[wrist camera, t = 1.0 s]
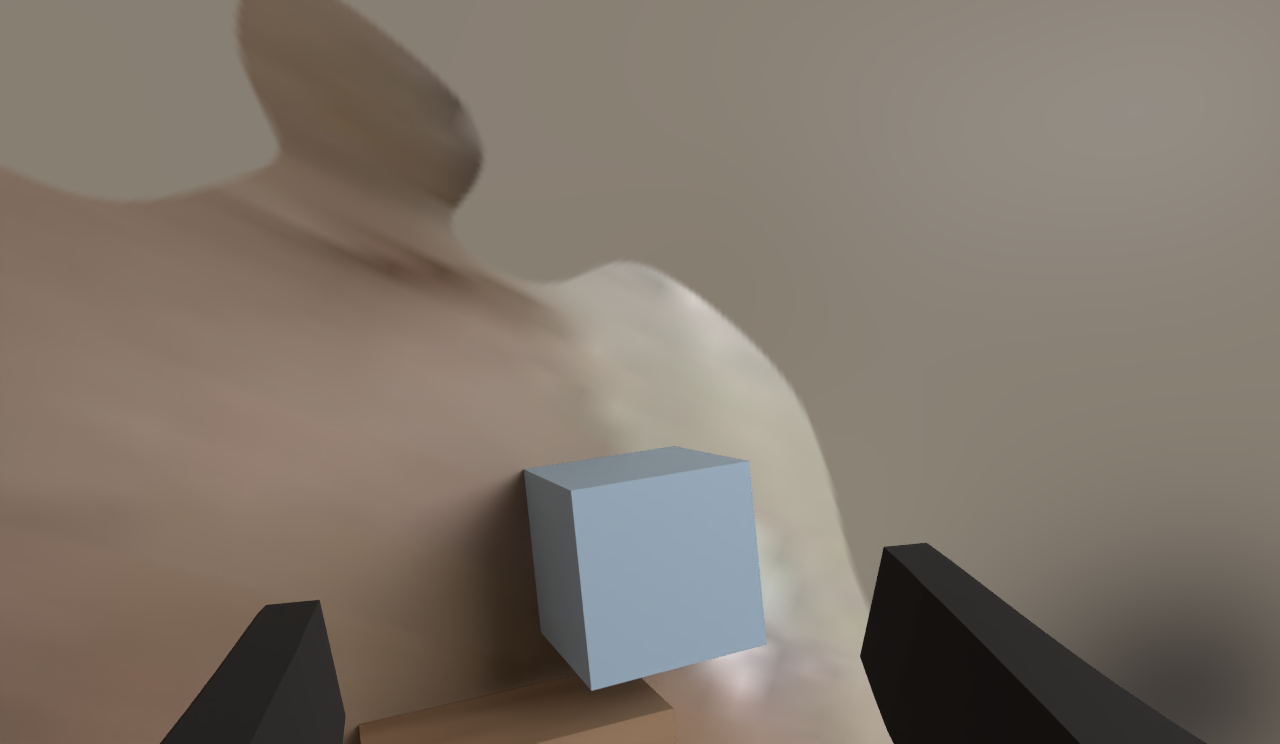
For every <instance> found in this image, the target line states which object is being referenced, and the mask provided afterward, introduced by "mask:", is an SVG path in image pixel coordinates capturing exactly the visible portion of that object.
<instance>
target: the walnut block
mask: <svg viewBox="0 0 1280 744" xmlns="http://www.w3.org/2000/svg"><path fill="white" fill-rule="evenodd" d="M359 732H360V744H676V735H675V722H674V709H673V707H672V706H671V705H669V704H668V703H667V702H666V701H665V700H664V699H663V698H662V697H661V696H660V695H659V694H658V693H657V692H656V691H654V690H653V689H652V688H651V687H650V686H649V685H648V684H647V683H646V682H645V681H644V680H643V679H642V678H638V679H634V680H631V681H627V682H623V683H619V684H616V685H612V686H608V687H604V688H600V689H597V690H593V691H591V690H590V688H589V687H588V686H587V685H586V684H585V683H584V681H583V680H582V679H581V678H580V677H579V676H578V675H573V676H569V677H564V678H560V679H555V680H551V681H547V682H542V683H538V684H534V685H529V686H525V687H520V688H516V689H512V690H507V691H503V692H499V693H494V694H490V695H485V696H481V697H477V698H472V699H468V700H464V701H459V702H455V703H451V704H446V705H442V706H437V707H433V708H429V709H424V710H420V711H416V712H411V713H407V714H402V715H398V716H394V717H389V718H385V719H381V720H376V721H372V722H367V723H363V724H359Z"/></svg>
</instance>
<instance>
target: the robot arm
mask: <svg viewBox="0 0 1280 744" xmlns="http://www.w3.org/2000/svg"><path fill="white" fill-rule="evenodd" d="M860 657H861V660H862V663H863V666H864V669H865V672H866V674H867V677H868V680H869V683H870V686H871V689H872V692H873V694H874V697H875V700H876V702H877V705H878V708H879V710H880V713H881V715H882V718H883V721H884V723H885V726H886V728H887V731H888V733H889V735H890V737H891V739H892V741H893V743H894V744H1207V743H1205V742H1203V741H1202V740H1200V739H1199V738H1197V737H1195V736H1194V735H1192V734H1190V733H1189V732H1188V731H1186V730H1184V729H1183V728H1181V727H1180V726H1178V725H1177V724H1175V723H1174V722H1172V721H1170V720H1169V719H1167V718H1166V717H1165V716H1163V715H1162V714H1160V713H1158V712H1157V711H1156V710H1154V709H1153V708H1151V707H1150V706H1148V705H1147V704H1145V703H1144V702H1142V701H1141V700H1139V699H1138V698H1136V697H1135V696H1133V695H1132V694H1130V693H1129V692H1127V691H1126V690H1124V689H1123V688H1122V687H1120V686H1119V685H1117V684H1116V683H1114V682H1113V681H1111V680H1110V679H1108V678H1107V677H1106V676H1104V675H1103V674H1102V673H1100V672H1099V671H1097V670H1096V669H1094V668H1093V667H1092V666H1090V665H1089V664H1087V663H1086V662H1085V661H1083V660H1082V659H1081V658H1079V657H1078V656H1076V655H1075V654H1074V653H1072V652H1071V651H1070V650H1068V649H1067V648H1065V647H1064V646H1063V645H1061V644H1060V643H1058V642H1057V641H1056V640H1055V639H1053V638H1052V637H1051V636H1049V635H1048V634H1046V633H1045V632H1044V631H1043V630H1041V629H1040V628H1039V627H1037V626H1036V625H1035V624H1033V623H1032V622H1031V621H1029V620H1028V619H1027V618H1025V617H1024V616H1023V615H1021V614H1020V613H1018V612H1017V611H1016V610H1015V609H1013V608H1012V607H1011V606H1010V605H1008V604H1007V603H1006V602H1004V601H1003V600H1002V599H1000V598H999V597H998V596H997V595H995V594H994V593H993V592H991V591H990V590H989V589H987V588H986V587H985V586H983V585H982V584H981V583H980V582H978V581H977V580H976V579H974V578H973V577H972V576H970V575H969V574H968V573H967V572H965V571H964V570H963V569H961V568H960V567H959V566H957V565H956V564H955V563H953V562H952V561H951V560H949V559H948V558H947V557H945V556H944V555H942V554H941V553H940V552H938V551H937V550H936V549H934V548H933V547H932V546H930V545H929V544H927V543H920V544H911V545H899V546H888V547H884V548H883V553H882V558H881V563H880V567H879V572H878V576H877V581H876V585H875V590H874V595H873V600H872V604H871V609H870V613H869V618H868V622H867V627H866V632H865V636H864V641H863V646H862V650H861V655H860ZM344 725H345V712H344V707H343V703H342V698H341V694H340V689H339V685H338V680H337V676H336V671H335V667H334V662H333V658H332V654H331V649H330V645H329V640H328V636H327V631H326V627H325V622H324V618H323V613H322V609H321V604H320V600H314V601H304V602H293V603H282V604H272V605H266V606H265V607H264V608H263V609H262V610H261V611H260V612H259V613H258V614H257V615H256V617H255V618H254V619H253V621H252V622H251V623H250V625H249V626H248V628H247V629H246V630H245V632H244V633H243V635H242V636H241V637H240V639H239V640H238V641H237V643H236V644H235V646H234V647H233V648H232V650H231V651H230V652H229V654H228V655H227V657H226V658H225V659H224V661H223V662H222V663H221V665H220V666H219V667H218V669H217V670H216V672H215V673H214V674H213V676H212V677H211V678H210V680H209V681H208V682H207V684H206V685H205V686H204V688H203V689H202V690H201V692H200V693H199V694H198V696H197V697H196V698H195V699H194V701H193V702H192V703H191V705H190V706H189V707H188V709H187V710H186V711H185V713H184V714H183V715H182V716H181V718H180V719H179V720H178V721H177V723H176V724H175V725H174V727H173V728H172V729H171V730H170V732H169V733H168V734H167V735H166V737H165V738H164V739H163V740H162V742H161V743H160V744H342V743H343V734H344Z"/></svg>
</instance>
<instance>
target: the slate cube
mask: <svg viewBox="0 0 1280 744" xmlns="http://www.w3.org/2000/svg"><path fill="white" fill-rule="evenodd" d="M524 477H525V486H526V496H527V505H528V515H529V524H530V534H531V544H532V553H533V563H534V572H535V582H536V591H537V601H538V610H539V620H540V629H541V633H542V634H543V635H544V636H545V638H546V639H547V640H548V641H549V642H550V643H551V644H552V646H553V647H554V648H555V649H556V650H557V651H558V653H559V654H560V655H561V656H562V657H563V658H564V660H565V661H566V662H567V663H568V664H569V665H570V666H571V668H572V669H573V670H574V671H575V672H576V673H577V675H578V676H579V677H580V678H581V679H582V680H583V681H584V683H585V684H586V685H587V686H588V687H589V688H590V690H591V691H593V690H597V689H600V688H604V687H608V686H612V685H616V684H619V683H623V682H627V681H631V680H634V679H638V678H642V677H646V676H649V675H653V674H657V673H661V672H665V671H668V670H672V669H676V668H680V667H683V666H687V665H691V664H695V663H698V662H702V661H706V660H710V659H713V658H717V657H721V656H725V655H729V654H732V653H736V652H740V651H744V650H747V649H751V648H755V647H759V646H762V645H766V644H767V643H766V633H765V622H764V612H763V601H762V591H761V580H760V570H759V559H758V549H757V538H756V528H755V517H754V507H753V497H752V486H751V476H750V465H749V461H746V460H741V459H736V458H731V457H726V456H721V455H716V454H710V453H705V452H700V451H695V450H690V449H685V448H680V447H675V446H673V447H667V448H660V449H653V450H647V451H640V452H634V453H627V454H621V455H614V456H607V457H601V458H594V459H588V460H581V461H575V462H568V463H562V464H555V465H548V466H542V467H535V468H529V469H524Z"/></svg>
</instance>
